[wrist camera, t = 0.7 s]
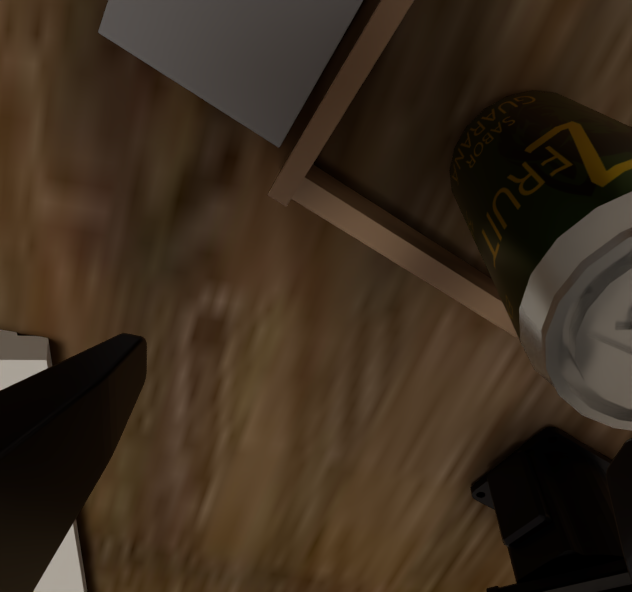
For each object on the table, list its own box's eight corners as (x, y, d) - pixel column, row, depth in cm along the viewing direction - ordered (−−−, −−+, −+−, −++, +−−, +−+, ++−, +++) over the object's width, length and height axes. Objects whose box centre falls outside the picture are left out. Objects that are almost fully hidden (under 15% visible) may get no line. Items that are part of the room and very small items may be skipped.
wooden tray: (1065, -100, 14) (1219, -123, 12) (558, 346, 24) (582, 388, 21) (695, -537, 11) (792, -698, 9) (280, 171, 20) (267, 195, 18)
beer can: (622, 140, 19) (935, 304, 8) (520, 248, 21) (664, 475, 11) (513, 56, 18) (716, 126, 7) (419, 180, 20) (472, 362, 10)
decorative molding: (68, 307, 29) (-135, 301, 26) (46, 359, 25) (-196, 358, 22) (106, 611, 46) (-14, 624, 44) (96, 671, 42) (-37, 688, 40)
